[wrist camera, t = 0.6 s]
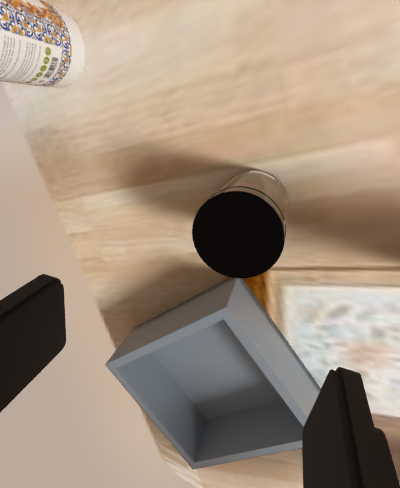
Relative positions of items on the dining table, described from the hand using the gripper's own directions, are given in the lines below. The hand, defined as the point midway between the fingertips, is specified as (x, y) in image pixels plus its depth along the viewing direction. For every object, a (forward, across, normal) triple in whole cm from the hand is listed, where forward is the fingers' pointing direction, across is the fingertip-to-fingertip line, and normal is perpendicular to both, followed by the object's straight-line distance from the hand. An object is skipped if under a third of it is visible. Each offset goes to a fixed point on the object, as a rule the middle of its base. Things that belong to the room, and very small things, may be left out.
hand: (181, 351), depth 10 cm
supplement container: (+23, 0, +1) cm, 23 cm away
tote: (+23, 0, +22) cm, 32 cm away
